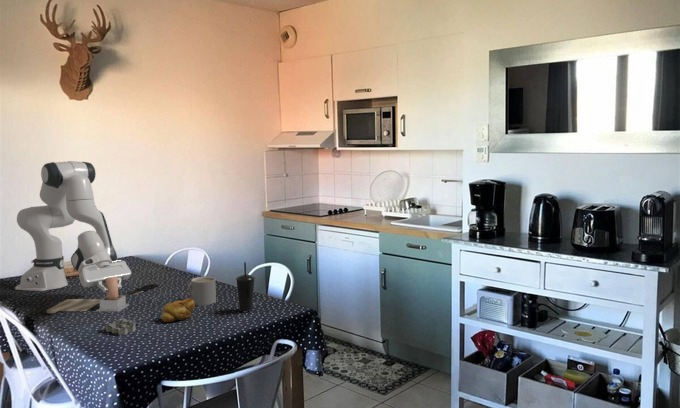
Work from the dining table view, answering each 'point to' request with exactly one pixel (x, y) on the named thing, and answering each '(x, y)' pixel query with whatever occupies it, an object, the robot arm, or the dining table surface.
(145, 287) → the knife
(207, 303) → the coffee mug
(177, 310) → the bread roll
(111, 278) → the dowel
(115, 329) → the egg carton
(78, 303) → the board
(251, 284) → the drinking cup
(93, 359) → the dining table surface
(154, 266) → the dining table surface
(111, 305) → the holder
